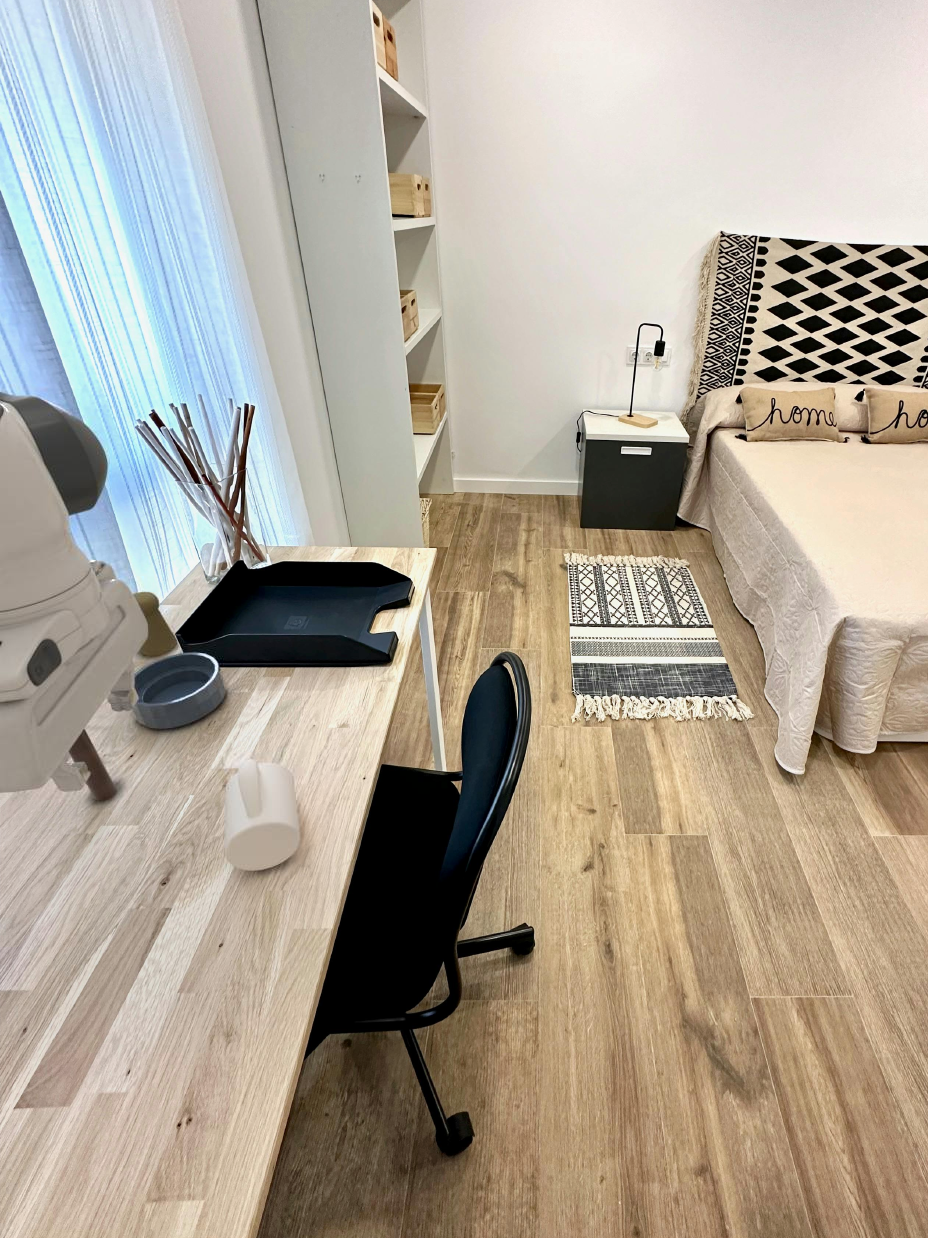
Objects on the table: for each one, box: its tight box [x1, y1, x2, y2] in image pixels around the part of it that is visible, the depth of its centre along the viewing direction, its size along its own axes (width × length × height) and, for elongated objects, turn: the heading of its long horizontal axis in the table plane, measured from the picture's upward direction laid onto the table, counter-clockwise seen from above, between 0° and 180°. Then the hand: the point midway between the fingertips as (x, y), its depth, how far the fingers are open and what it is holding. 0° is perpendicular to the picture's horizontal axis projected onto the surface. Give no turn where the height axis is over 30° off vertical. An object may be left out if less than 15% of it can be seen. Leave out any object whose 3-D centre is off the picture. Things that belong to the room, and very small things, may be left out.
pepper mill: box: [132, 591, 178, 657], centre depth 110 cm, size 6×6×11 cm
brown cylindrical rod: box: [68, 728, 117, 802], centre depth 80 cm, size 3×3×18 cm
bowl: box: [131, 651, 227, 730], centre depth 99 cm, size 13×13×6 cm
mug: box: [224, 758, 301, 872], centre depth 77 cm, size 8×10×12 cm
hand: (103, 742), depth 54 cm, fingers open, 8 cm apart
